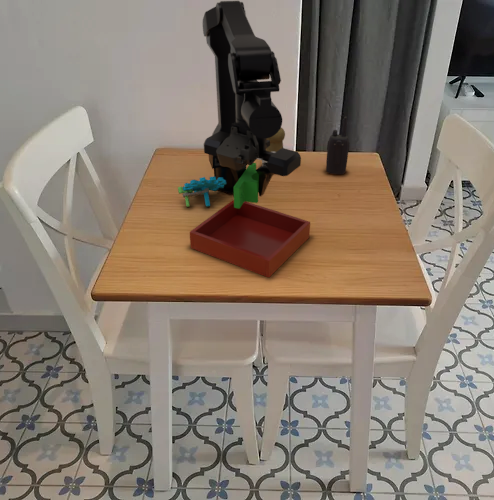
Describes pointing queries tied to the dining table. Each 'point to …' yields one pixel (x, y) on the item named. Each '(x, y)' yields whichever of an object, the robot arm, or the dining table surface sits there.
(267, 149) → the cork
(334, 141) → the two-way radio
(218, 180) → the blue toy dinosaur
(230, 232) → the open red box
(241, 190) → the pipe clamp
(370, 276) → the dining table surface
